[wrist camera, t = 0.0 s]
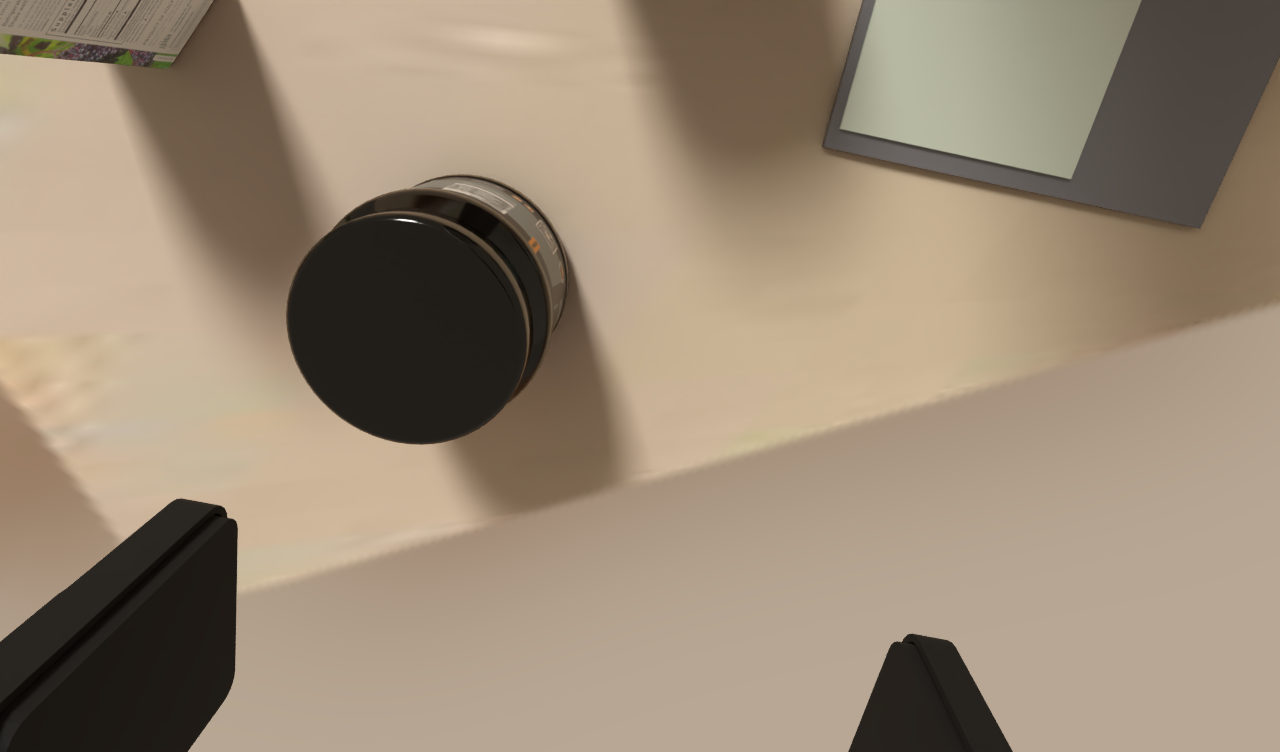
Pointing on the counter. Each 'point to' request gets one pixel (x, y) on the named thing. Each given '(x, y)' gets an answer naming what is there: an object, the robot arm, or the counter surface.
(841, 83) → the mat
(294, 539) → the counter surface
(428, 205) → the supplement container
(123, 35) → the syrup box
